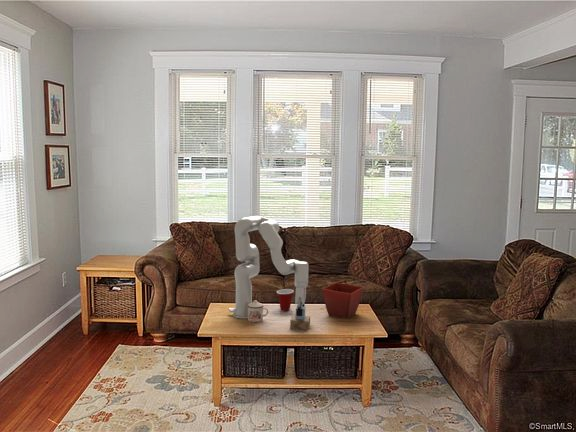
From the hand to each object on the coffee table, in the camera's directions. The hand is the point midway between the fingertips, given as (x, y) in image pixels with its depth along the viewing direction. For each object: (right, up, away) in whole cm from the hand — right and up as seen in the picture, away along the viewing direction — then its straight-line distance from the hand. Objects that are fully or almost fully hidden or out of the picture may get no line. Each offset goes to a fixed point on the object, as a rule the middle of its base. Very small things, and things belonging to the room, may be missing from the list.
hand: (300, 313), depth 303 cm
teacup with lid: (-25, -6, +12) cm, 28 cm away
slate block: (0, -3, 0) cm, 3 cm away
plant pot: (+26, -6, +26) cm, 37 cm away
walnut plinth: (0, -8, +1) cm, 8 cm away
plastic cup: (-9, -4, +34) cm, 36 cm away
